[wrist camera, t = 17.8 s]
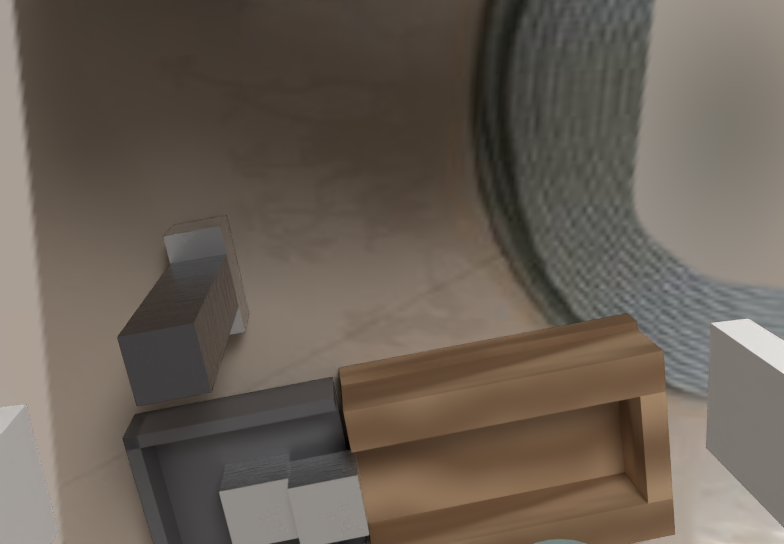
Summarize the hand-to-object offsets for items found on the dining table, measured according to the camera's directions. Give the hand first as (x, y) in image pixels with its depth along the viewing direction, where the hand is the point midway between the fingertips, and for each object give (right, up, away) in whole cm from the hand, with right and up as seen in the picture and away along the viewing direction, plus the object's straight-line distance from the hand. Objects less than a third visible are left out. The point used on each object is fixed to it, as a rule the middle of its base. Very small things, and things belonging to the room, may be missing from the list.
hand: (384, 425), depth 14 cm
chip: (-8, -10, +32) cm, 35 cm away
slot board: (+7, -7, +33) cm, 35 cm away
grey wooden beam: (-10, +3, +29) cm, 31 cm away
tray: (-8, -10, +33) cm, 35 cm away
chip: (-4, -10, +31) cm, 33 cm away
